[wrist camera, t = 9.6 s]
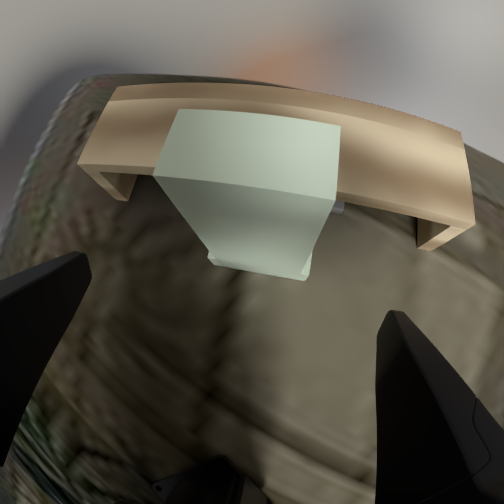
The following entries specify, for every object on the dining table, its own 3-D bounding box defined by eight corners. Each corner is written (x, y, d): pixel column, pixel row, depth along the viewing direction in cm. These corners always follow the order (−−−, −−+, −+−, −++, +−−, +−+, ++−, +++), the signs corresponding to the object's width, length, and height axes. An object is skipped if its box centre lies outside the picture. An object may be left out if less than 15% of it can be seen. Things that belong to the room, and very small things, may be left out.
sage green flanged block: (305, 281, 19) (354, 204, 7) (213, 264, 19) (137, 174, 8) (319, 172, 21) (352, 36, 9) (239, 160, 21) (211, 23, 10)
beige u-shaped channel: (430, 251, 19) (475, 224, 13) (116, 200, 21) (77, 163, 16) (427, 172, 20) (460, 132, 15) (143, 130, 23) (117, 86, 17)
